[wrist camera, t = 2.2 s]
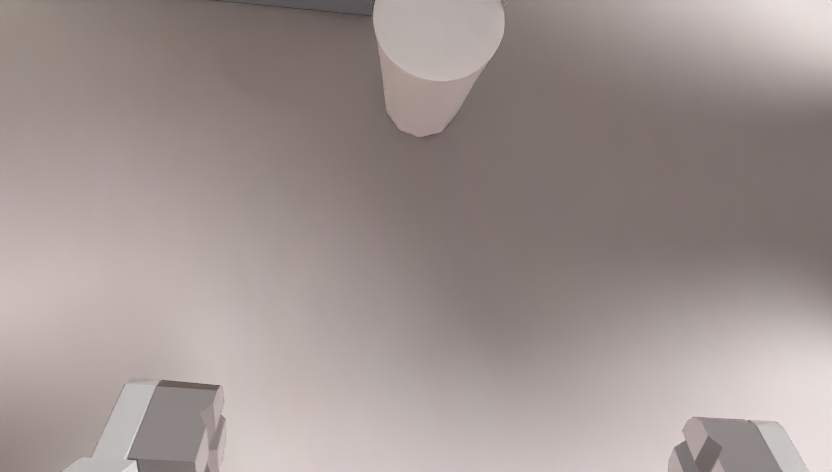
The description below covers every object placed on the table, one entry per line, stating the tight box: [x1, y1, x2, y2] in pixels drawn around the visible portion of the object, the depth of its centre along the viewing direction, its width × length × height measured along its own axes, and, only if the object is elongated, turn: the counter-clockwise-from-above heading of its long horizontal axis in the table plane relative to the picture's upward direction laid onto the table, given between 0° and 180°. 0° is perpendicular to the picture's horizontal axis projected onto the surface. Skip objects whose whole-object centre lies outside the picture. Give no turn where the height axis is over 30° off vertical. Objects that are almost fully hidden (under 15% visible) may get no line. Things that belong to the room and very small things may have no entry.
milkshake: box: [373, 0, 511, 138], centre depth 27 cm, size 5×5×10 cm
